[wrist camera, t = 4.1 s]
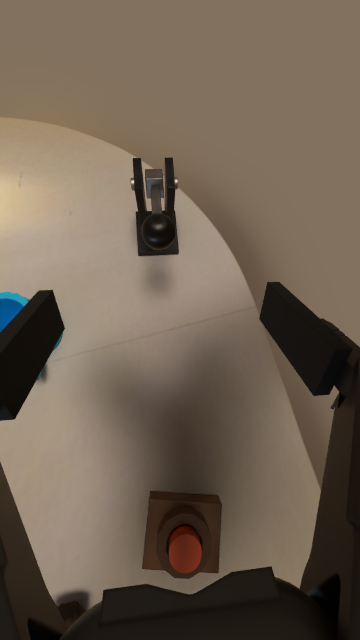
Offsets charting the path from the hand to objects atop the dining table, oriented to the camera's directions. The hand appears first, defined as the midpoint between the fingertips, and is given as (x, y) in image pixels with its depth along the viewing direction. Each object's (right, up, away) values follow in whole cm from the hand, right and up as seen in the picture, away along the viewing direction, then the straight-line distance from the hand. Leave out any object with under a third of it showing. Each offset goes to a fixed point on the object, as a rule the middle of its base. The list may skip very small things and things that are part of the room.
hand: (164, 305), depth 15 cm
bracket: (-3, +15, +28) cm, 31 cm away
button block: (+1, -30, +19) cm, 36 cm away
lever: (-2, +11, +14) cm, 18 cm away
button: (+2, -29, +15) cm, 33 cm away
